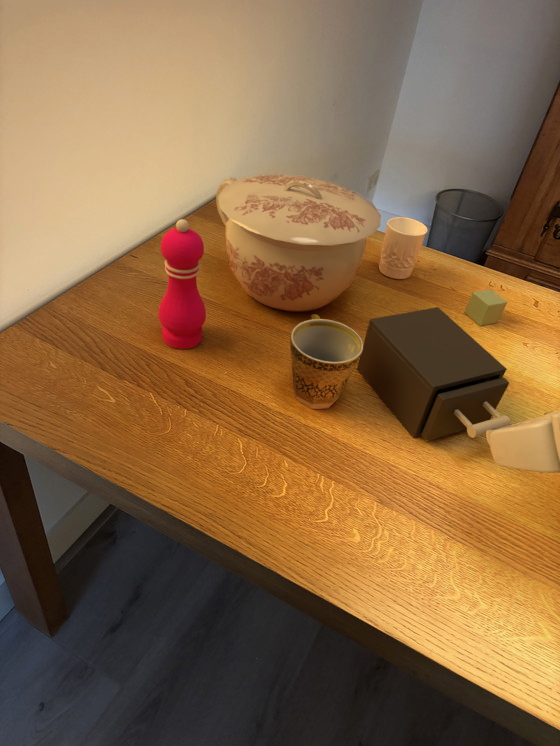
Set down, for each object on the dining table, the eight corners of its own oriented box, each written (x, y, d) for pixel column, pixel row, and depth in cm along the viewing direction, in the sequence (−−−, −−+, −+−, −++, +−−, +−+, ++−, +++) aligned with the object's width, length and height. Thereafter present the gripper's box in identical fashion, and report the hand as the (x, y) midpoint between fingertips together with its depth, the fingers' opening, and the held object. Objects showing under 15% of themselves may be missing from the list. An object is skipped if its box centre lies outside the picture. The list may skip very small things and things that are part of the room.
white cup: (410, 285, 108) (425, 239, 102) (372, 274, 110) (384, 228, 103) (415, 267, 114) (429, 223, 108) (379, 258, 116) (391, 213, 109)
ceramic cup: (356, 416, 78) (372, 362, 71) (288, 419, 76) (298, 363, 69) (334, 359, 87) (347, 306, 81) (273, 360, 85) (281, 306, 79)
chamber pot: (383, 329, 95) (415, 218, 82) (228, 338, 88) (236, 218, 75) (333, 251, 115) (352, 152, 102) (203, 253, 108) (206, 147, 95)
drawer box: (482, 418, 80) (507, 368, 74) (413, 438, 76) (433, 387, 69) (420, 354, 91) (437, 306, 85) (356, 368, 86) (370, 318, 80)
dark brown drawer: (511, 445, 76) (534, 405, 71) (446, 466, 71) (466, 424, 66) (429, 361, 88) (444, 322, 83) (370, 374, 84) (382, 334, 79)
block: (482, 309, 105) (490, 289, 102) (498, 322, 102) (507, 302, 99) (464, 312, 103) (472, 292, 100) (479, 326, 100) (488, 305, 97)
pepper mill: (192, 356, 84) (194, 237, 71) (150, 342, 85) (145, 223, 72) (212, 332, 89) (218, 216, 76) (173, 319, 90) (171, 204, 77)
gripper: (689, 375, 57) (574, 385, 70) (551, 418, 49) (450, 420, 62) (702, 434, 57) (584, 433, 70) (566, 486, 49) (461, 474, 62)
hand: (520, 427), depth 66 cm, fingers open, 8 cm apart
